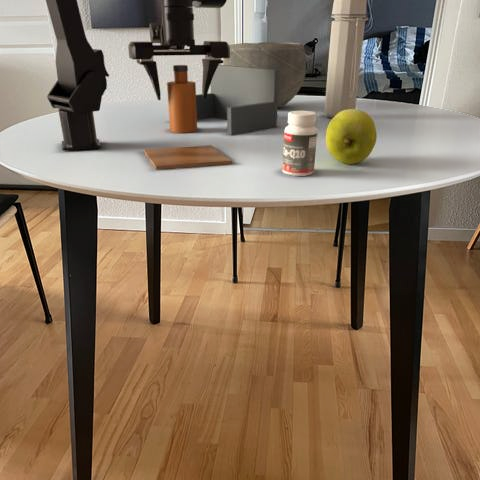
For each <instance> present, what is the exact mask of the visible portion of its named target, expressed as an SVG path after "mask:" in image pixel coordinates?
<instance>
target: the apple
mask: <svg viewBox="0 0 480 480" xmlns="http://www.w3.org/2000/svg"><path fill="white" fill-rule="evenodd" d="M377 135H378V134H377V127H376V124H375V122H374V120H373V118H372V116H371V115H369V113H367V112H365V111H364V110H360V109H356V108H355V109H347V110H343V111H341V112H339V113H338V114H337V115H336V116H335V117H334V118H331V120H330V121H329V123H328V125H327V128H326V131H325V145H326V149H327V151H328V152H329V153H328V154H330V155H331V156H332V157H333V158H334V159H335V160H337V161H338V162H340V163H342V164H346V165H355V164H358V163H360V162H362V161H363V160H365V159H367V158H368V157H369V156H370V155H371V153H372V151H373V150H374V148H375V146H376V143H377V138H378V136H377Z"/></svg>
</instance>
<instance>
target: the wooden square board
mask: <svg viewBox="0 0 480 480" xmlns="http://www.w3.org/2000/svg"><path fill="white" fill-rule="evenodd" d="M143 153H144V155H145V156H146V157H147V159H148V160H149V162H150V163H151V164H152V166H153V167H154V169H155V170H157V171H158V170H168V169H181V168H182V169H183V168H193V167H194V168H195V167H208V166H219V165H220V166H221V165H231V164H232V160H231V159H230V158H229V157H227V156H226V155H225V154H223V153H222V152H220V151H219V149H217V148H215V146H213V145H212V144H207V145H195V146H194V145H193V146H179V147H163V148H151V149H150V148H148V149H143Z"/></svg>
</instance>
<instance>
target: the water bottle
mask: <svg viewBox="0 0 480 480" xmlns="http://www.w3.org/2000/svg"><path fill="white" fill-rule="evenodd" d="M330 17H331V18H332V19H334V20H332V21H331V28H330V40H329V49H328V50H329V51H328V63H327V75H326V86H325V87H326V88H325V98H324V110H323V111H324V112H323V113H324V114H325V116H326V117H327V118H330V119H333V118H334V117H335V116H336V115H337V114H338V113H339V112H341V111H343V110H347V109H356V106H357V98H358V97H357V96H358V89H359V80H360V71H361V63H362V54H363V44H364V36H365V35H364V34H365V27H366V21H368V20H369V17H367V0H333V4H332V10H331V15H330Z"/></svg>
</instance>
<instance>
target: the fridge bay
mask: <svg viewBox="0 0 480 480" xmlns="http://www.w3.org/2000/svg"><path fill="white" fill-rule="evenodd" d="M278 84H279V70H276V69H265V68H253V67H242V66H230V65H224V64H219V65H218V67H217V69H216V71H215V74H214V76H213V78H212V81H211V84H210V93H209V92H208V93H207V96H206V98H205V99H204V98H203V95H202V93H200V94H196V110H197V120H201V119H206V118H213V117H215V118H221V119H225V120H227V121H226V123H227V124H226V125H227V134H226V135H228V136H229V135H230V136H233V135H239V134H240V135H241V134H245V133H250V132H257V131H262V130H267V129H273V128H277V127H278V110H279V109H278V107H279V106H278Z"/></svg>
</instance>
